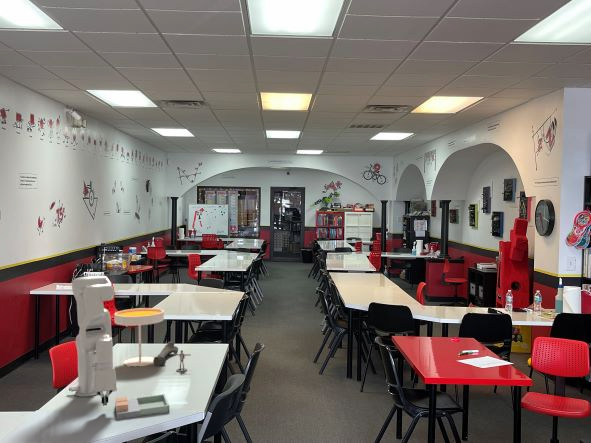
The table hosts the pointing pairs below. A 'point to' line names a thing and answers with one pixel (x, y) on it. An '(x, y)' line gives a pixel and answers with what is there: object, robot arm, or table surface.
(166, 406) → the tray
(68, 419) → the table surface
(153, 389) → the table surface
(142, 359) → the round pedestal stand
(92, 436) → the table surface
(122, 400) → the tile far
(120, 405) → the tile near
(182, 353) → the figurine
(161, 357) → the bone
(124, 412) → the deck
